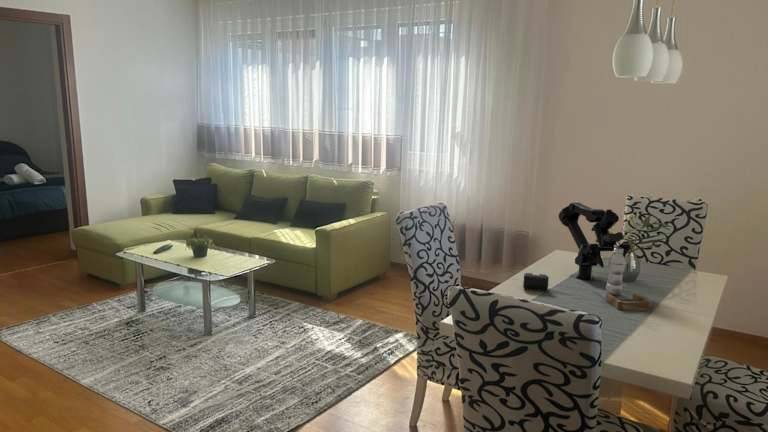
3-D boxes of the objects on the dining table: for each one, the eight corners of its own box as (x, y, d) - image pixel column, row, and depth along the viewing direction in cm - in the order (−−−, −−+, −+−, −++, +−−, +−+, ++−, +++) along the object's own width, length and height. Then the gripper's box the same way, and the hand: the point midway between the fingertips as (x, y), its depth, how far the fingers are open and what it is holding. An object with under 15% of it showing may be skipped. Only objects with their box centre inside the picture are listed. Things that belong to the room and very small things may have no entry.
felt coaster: (592, 291, 246) (592, 290, 246) (618, 290, 248) (618, 289, 248) (607, 300, 235) (607, 299, 234) (634, 300, 236) (634, 299, 236)
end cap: (522, 291, 243) (524, 275, 242) (522, 286, 250) (524, 271, 249) (547, 293, 241) (548, 278, 240) (546, 288, 248) (548, 273, 246)
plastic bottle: (614, 298, 237) (620, 251, 233) (601, 293, 243) (606, 247, 239) (625, 296, 240) (631, 249, 236) (612, 291, 246) (617, 245, 242)
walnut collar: (605, 300, 234) (606, 293, 234) (636, 300, 236) (636, 293, 236) (619, 310, 224) (620, 302, 224) (651, 309, 226) (652, 302, 226)
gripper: (590, 225, 241) (600, 258, 233) (631, 225, 244) (643, 257, 236) (579, 238, 251) (589, 270, 242) (619, 238, 253) (630, 270, 245)
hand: (613, 267), depth 241 cm, fingers open, 9 cm apart
